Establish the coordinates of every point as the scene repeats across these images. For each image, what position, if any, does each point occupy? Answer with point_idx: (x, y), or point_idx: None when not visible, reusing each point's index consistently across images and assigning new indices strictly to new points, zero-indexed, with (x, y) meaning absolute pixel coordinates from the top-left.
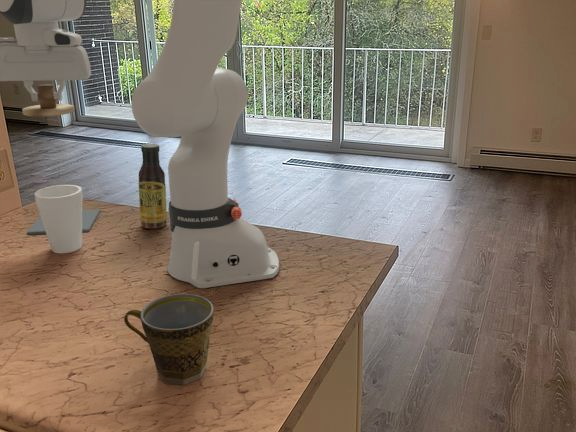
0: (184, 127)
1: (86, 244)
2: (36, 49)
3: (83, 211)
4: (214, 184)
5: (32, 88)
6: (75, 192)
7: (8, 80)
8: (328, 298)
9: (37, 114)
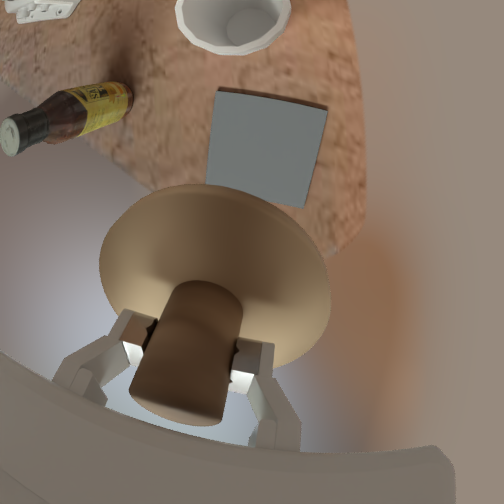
0: None
1: None
2: None
3: (233, 186)
4: None
5: (258, 413)
6: (197, 33)
7: (391, 452)
8: None
9: (246, 199)
